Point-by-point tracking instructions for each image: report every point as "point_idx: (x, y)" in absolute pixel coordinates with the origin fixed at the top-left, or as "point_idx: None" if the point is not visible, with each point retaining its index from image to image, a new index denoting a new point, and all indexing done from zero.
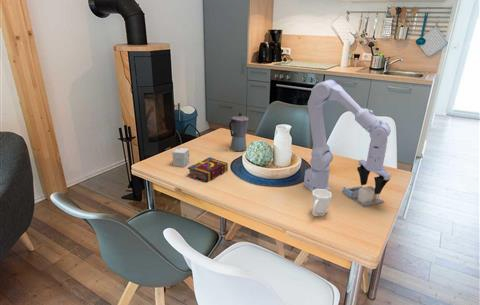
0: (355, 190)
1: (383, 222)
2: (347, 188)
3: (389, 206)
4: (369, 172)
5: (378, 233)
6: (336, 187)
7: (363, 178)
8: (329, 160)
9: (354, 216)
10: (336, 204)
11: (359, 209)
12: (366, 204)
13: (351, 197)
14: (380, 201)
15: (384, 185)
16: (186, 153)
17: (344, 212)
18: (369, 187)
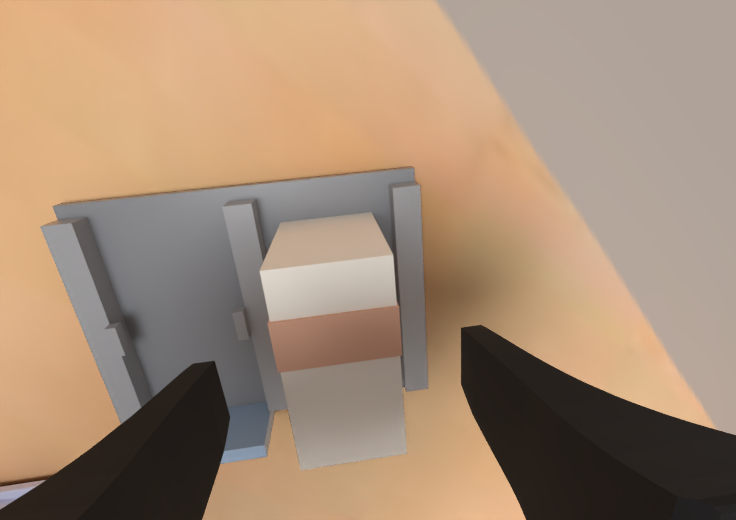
0: (128, 307)
1: (614, 343)
2: (112, 393)
3: (465, 150)
4: (91, 516)
5: None
6: (40, 421)
7: (190, 499)
8: None
9: (486, 469)
10: (324, 510)
11: (425, 408)
12: (427, 375)
13: (272, 411)
14: (420, 230)
15: (590, 390)
16: None
17: (427, 501)
18: (308, 364)
